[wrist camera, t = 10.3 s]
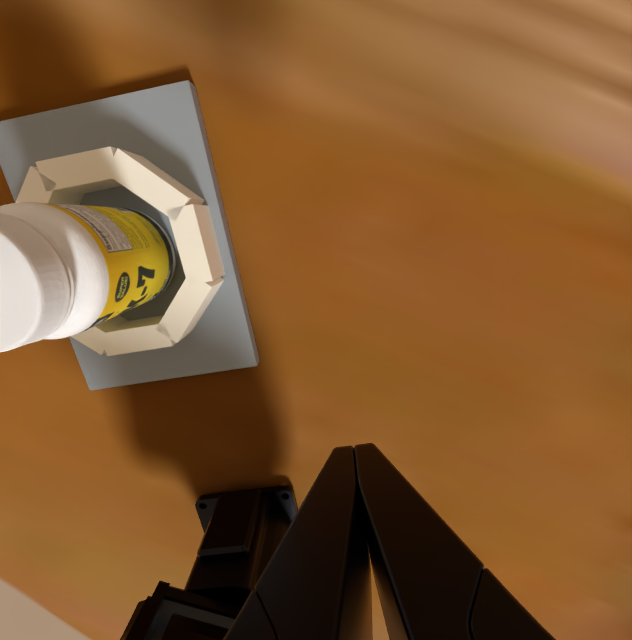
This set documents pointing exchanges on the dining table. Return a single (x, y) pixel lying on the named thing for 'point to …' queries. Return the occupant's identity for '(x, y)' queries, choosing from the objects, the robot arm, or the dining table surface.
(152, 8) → the dining table surface
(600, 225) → the dining table surface
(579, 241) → the dining table surface
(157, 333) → the holder board
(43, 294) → the supplement bottle
